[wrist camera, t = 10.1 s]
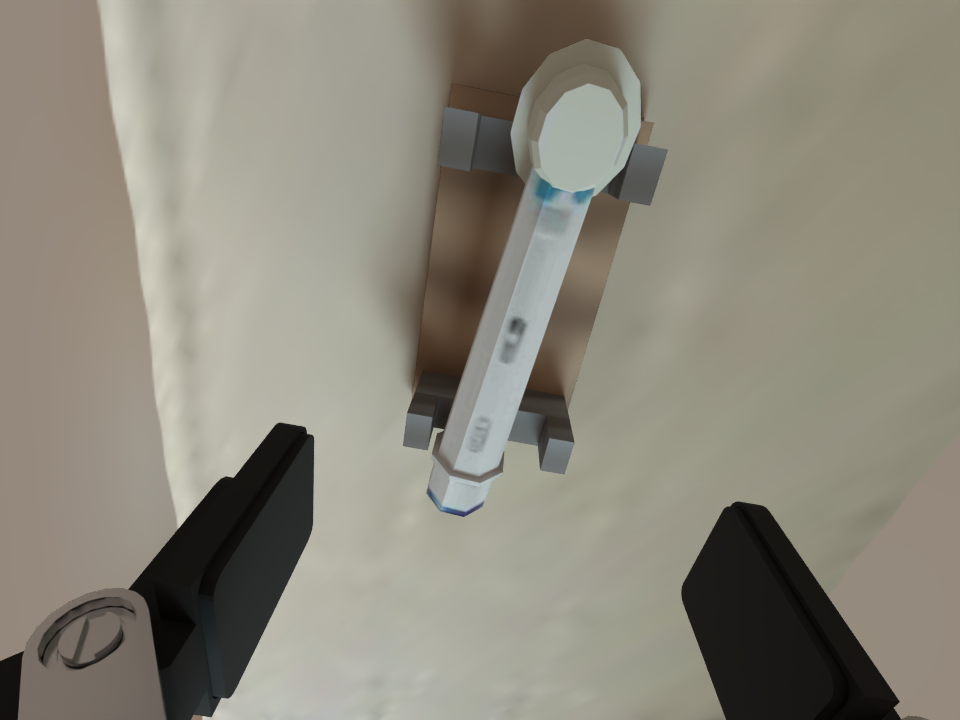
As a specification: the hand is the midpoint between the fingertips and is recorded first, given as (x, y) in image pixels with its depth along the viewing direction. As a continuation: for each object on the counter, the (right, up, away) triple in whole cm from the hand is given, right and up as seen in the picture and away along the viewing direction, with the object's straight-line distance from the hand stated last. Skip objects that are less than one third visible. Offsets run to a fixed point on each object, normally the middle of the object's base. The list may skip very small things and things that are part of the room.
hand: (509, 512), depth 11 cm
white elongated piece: (+1, +7, +16) cm, 18 cm away
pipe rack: (+2, +9, +21) cm, 22 cm away
